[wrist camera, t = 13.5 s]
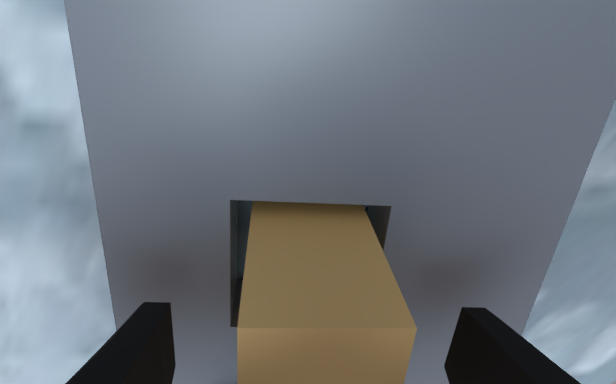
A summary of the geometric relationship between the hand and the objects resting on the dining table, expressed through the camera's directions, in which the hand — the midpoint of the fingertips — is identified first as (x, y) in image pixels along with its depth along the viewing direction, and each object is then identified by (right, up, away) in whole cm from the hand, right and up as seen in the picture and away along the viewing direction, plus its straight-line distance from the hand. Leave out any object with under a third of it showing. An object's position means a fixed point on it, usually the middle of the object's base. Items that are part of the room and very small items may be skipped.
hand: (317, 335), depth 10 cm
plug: (0, +2, +5) cm, 5 cm away
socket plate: (+1, +4, +4) cm, 6 cm away
